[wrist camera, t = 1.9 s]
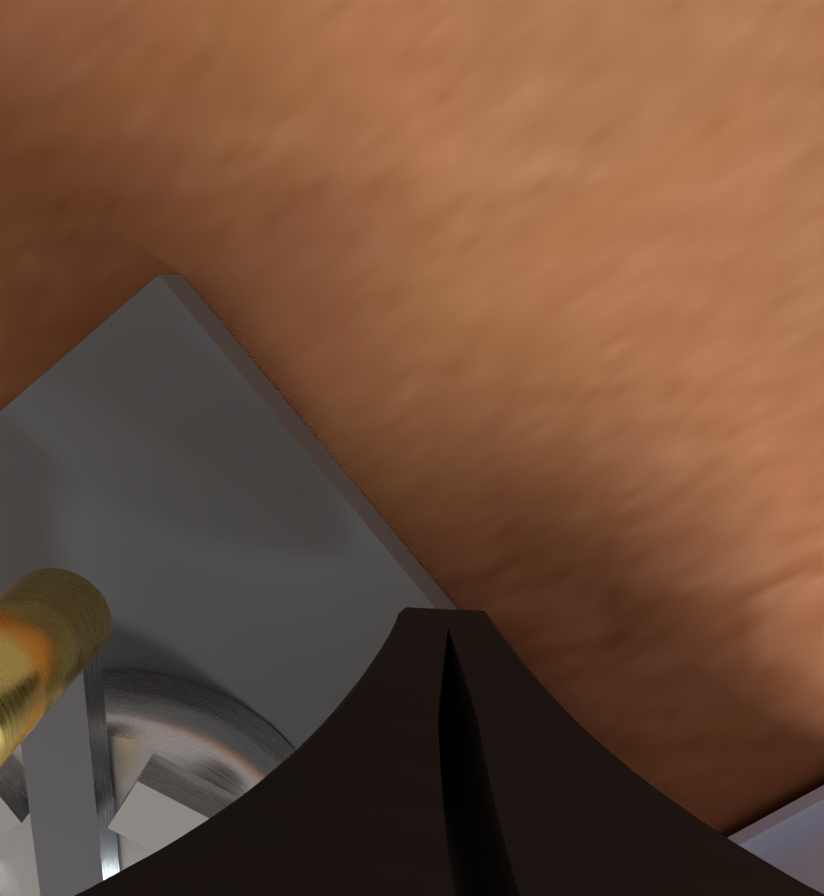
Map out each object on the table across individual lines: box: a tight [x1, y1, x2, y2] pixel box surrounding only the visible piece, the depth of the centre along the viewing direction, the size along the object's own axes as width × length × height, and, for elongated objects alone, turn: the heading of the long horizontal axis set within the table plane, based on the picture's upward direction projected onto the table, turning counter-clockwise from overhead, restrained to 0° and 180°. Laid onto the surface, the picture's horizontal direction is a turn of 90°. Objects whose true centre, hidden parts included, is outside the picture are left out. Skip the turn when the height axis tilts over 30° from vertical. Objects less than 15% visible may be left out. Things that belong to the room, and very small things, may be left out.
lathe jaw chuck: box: [0, 568, 295, 896], centre depth 12 cm, size 12×9×5 cm
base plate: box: [0, 274, 458, 751], centre depth 16 cm, size 18×18×1 cm
